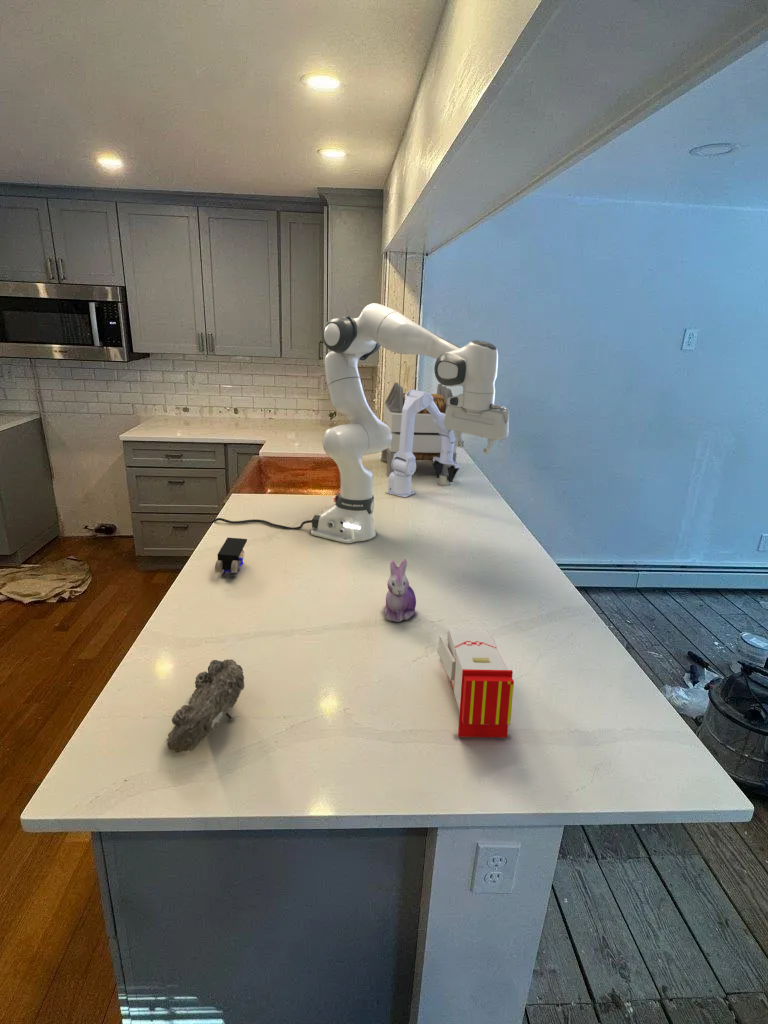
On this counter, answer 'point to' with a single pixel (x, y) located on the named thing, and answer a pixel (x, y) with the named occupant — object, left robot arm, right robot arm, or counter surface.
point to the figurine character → (230, 556)
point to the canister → (444, 479)
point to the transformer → (415, 427)
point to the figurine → (399, 594)
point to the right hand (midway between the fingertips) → (444, 479)
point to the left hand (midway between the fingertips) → (473, 450)
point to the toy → (478, 682)
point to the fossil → (206, 705)
